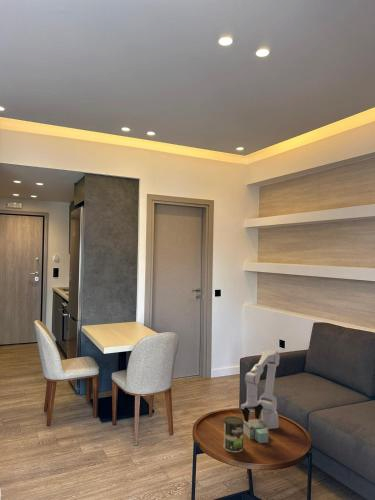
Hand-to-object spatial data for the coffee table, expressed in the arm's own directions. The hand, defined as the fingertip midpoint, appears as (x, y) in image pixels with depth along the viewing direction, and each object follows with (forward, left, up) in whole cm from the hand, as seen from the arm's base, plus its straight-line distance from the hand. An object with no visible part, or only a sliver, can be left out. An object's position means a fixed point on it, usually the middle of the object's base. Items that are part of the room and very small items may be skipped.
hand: (251, 420), depth 203 cm
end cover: (-4, +1, -10) cm, 11 cm away
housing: (-4, -4, -10) cm, 12 cm away
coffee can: (+14, +8, -10) cm, 19 cm away
